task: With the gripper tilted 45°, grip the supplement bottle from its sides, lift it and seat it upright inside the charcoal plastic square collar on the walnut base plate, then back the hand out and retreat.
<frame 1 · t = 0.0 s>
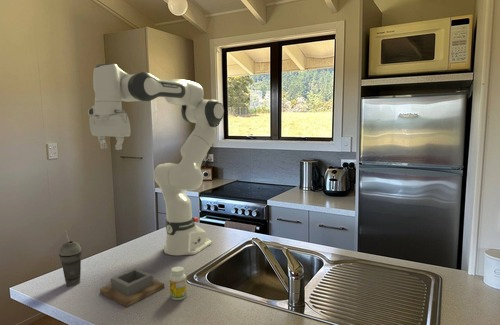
hand: (111, 149, 121), 48 cm above the countertop, tool pointing down, fingers open, 8 cm apart
collar socket: (132, 290, 116), on the countertop
supplement bottle: (178, 296, 112), on the countertop
beverage cup: (73, 283, 122), on the countertop
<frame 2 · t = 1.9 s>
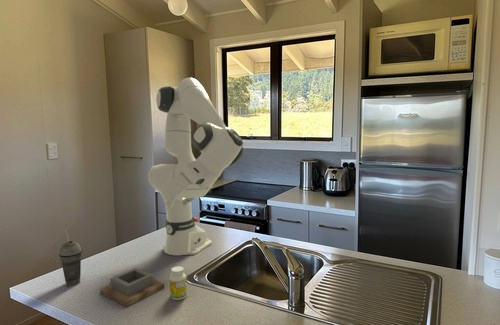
hand: (176, 205, 108), 31 cm above the countertop, tool tilted 40°, fingers open, 8 cm apart
nothing on the countertop moved.
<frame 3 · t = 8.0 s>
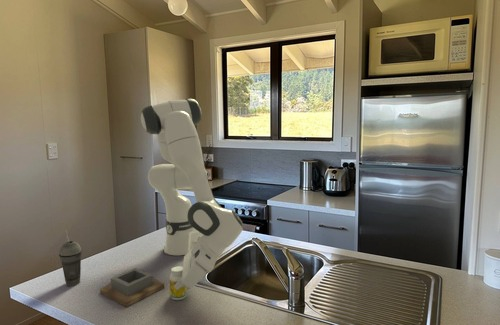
hand: (176, 282, 111), 5 cm above the countertop, tool tilted 45°, fingers closed on supplement bottle, 5 cm apart
supplement bottle: (178, 296, 112), on the countertop, touching gripper
everything else where it was.
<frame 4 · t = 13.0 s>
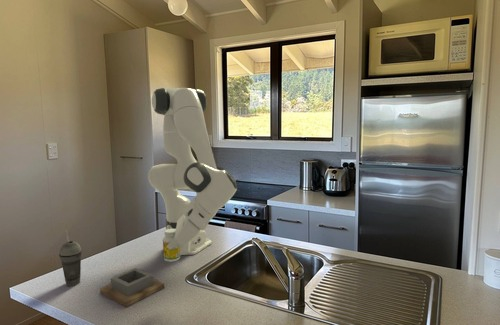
hand: (169, 243, 110), 18 cm above the countertop, tool tilted 45°, fingers closed on supplement bottle, 5 cm apart
supplement bottle: (172, 259, 111), point 13 cm above the countertop, touching gripper
everything else where it was.
when the fingers open (8 cm above the countertop, at t = 18.0 s): supplement bottle stays where it is, resting on collar socket.
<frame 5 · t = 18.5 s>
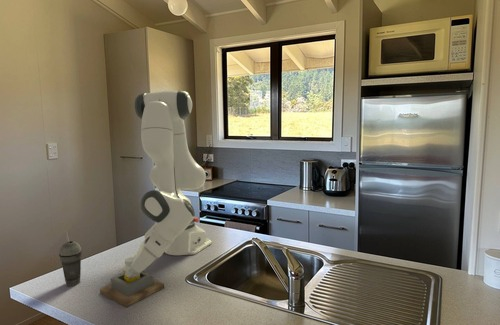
hand: (129, 268, 115), 8 cm above the countertop, tool tilted 45°, fingers open, 8 cm apart
supplement bottle: (132, 286, 116), point 1 cm above the countertop, touching collar socket
everything else where it was.
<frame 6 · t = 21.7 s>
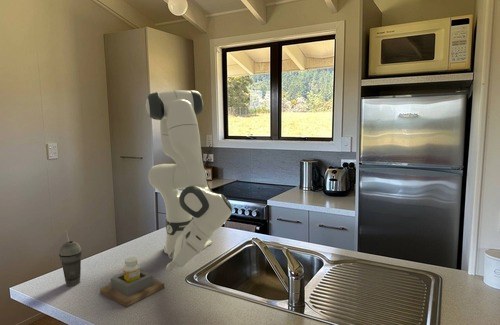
hand: (168, 262, 117), 9 cm above the countertop, tool tilted 45°, fingers open, 8 cm apart
nothing on the countertop moved.
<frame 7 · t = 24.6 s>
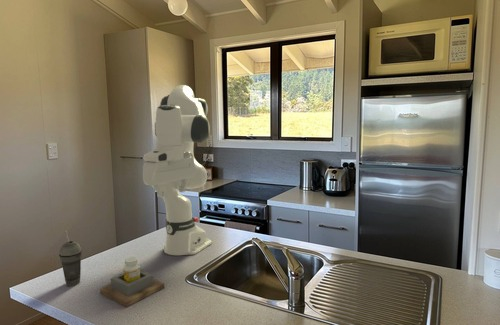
hand: (171, 194, 114), 33 cm above the countertop, tool pointing down, fingers open, 8 cm apart
nothing on the countertop moved.
at the end: supplement bottle 0.1 cm off-centre on the collar socket, point 1.3 cm above the collar socket's base; supplement bottle tilted 0°; the gripper is holding nothing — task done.
